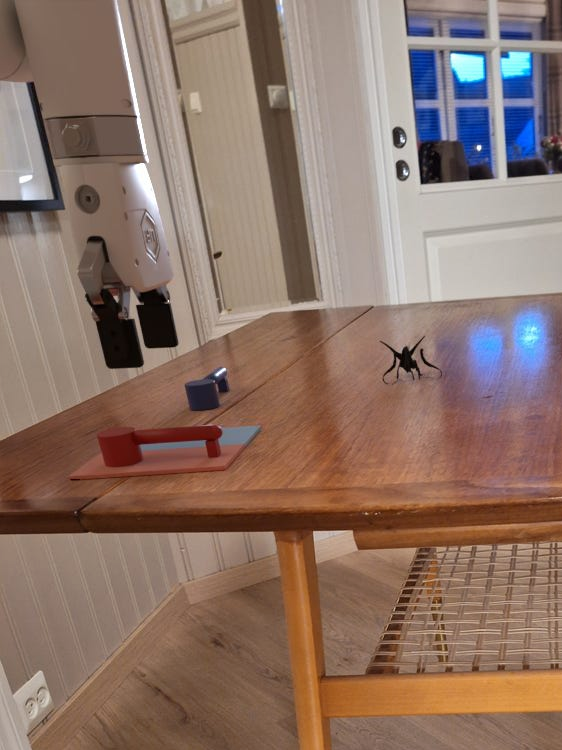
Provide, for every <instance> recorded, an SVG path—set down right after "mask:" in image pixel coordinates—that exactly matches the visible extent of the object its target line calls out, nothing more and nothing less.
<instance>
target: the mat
mask: <svg viewBox="0 0 562 750" xmlns="http://www.w3.org/2000/svg"><path fill="white" fill-rule="evenodd" d="M221 429H222V432H223V434H222V436H221V438H219V439H218V441H219V445H220V450H221V454H220V455H219V456H218V457H210V458H209V457H208V453H207V449H206V444H205V441H206V440H202V441H187V442H172V443H158V444H143V445H140V447H141V451H142V455H143V460H142V461H141V462H139V463H136V464H133V465H129V466H123V467H108V466H106V465H105V463H104V459H103V456H102V452H100V453H98V454H97V455H96V456H94V457H93V458H91V459H90V460H89V461H87V462H86V463H85V464H83V465H82V466H80V467H79V468H77V470H75V471H73V472H72V473H71V474H69V476H68V480H69V479H80V480H93V479H107V478H109V479H110V478H124V477H125V478H126V477H139V476H154V475H155V476H156V475H167V474H182V473H198V472H200V473H201V472H213V471H214V472H215V471H226V470H227V469H228V468H229V466H230V465H231V464H232V463H233V462H234V461H235V460H236V459H237V458H238V457H239V455H240V454H241V453H242V452H243V450H244V449H245V448H246V447H247V446H248V445H249V444H250V443H251V441H252V440H253V439H254V438H255V437H256V436H257V434H259V432H261V430H262V426H261V425H249V426H248V425H245V426H244V425H243V426H232V427H221Z"/></svg>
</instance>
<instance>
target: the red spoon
mask: <svg viewBox="0 0 562 750" xmlns="http://www.w3.org/2000/svg"><path fill="white" fill-rule="evenodd" d="M221 428H222V427H221V426H220V425H218V424H204V425H190V426H189V425H187V426H176V427H175V426H174V427H173V426H172V427H163V428H162V427H161V428H147V429H144V428H143V429H136V427H133V426H120V427H112V428H107V429H104V430H101V431H100V432H98V433H96V437H97V441H98V444H99V445H98V446H99V449H100V451H101V452H102V456H103V459H104V463H105V465H106V466H108V467H123V466H129V465H133V464H136V463H139V462H141V461H142V460H143V455H142V451H141V447H140V445H143V444H158V443H172V442H187V441H202V440H206V441H205V444H206V449H207V453H208V457H209V458H210V457H218V456H219V455H220V454H221V450H220V445H219V441H218V439H219V438H221V436H222V434H223V432H222V429H221ZM101 452H100V453H101Z"/></svg>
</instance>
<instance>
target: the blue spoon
mask: <svg viewBox="0 0 562 750" xmlns="http://www.w3.org/2000/svg"><path fill="white" fill-rule="evenodd" d="M227 375H228V370H227V369H226V368H225V367H223V366H219V367H217V368H216V369H214V370H213V371H212V372H210V373H209V374H208V375H206V376H205V377H203V378H201V379H196V380H190V381H187V382H185V383H184V389H185V393H186V397H187V403H188V406H189V410H190V411H195V412H196V411H197V412H199V411H200V412H201V411H208V410H212V409H216V408H218V407H220V405H221V403H220V399H219V394H218V393H225V392H227V393H228V392H229V391H230V386H229V381H228V377H227Z"/></svg>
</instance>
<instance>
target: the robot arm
mask: <svg viewBox="0 0 562 750" xmlns="http://www.w3.org/2000/svg"><path fill="white" fill-rule="evenodd" d="M126 45H127V44H126V39H125V35H124V29H123V25H122V20H121V14H120V9H119V4H118V0H0V81H2V82H10V83H34V89H35V92H36V96H37V100H38V103H39V108H40V112H41V116H42V121H43V125H44V129H45V134H46V137H47V141H48V145H49V151H50V154H51V158H52V162H53V167H55V168H60V169H61V178H62V186H63V191H64V199H65V204H66V209H67V214H68V220H69V224H70V230H71V235H72V240H73V245H74V249H75V253H76V257H77V261H78V266H77V269H76V273H77V277H78V279H79V281H80V284H81V286H82V287H83V290H84V293H85V294H84V298H85V299H86V300H85V301H86V302H87V304H88V306H90V308H91V309H90V310H91V311H90V314H91V318H92V320H93V321H94V323H95V326H96V330H97V334H98V339H99V342H100V346H101V351H102V355H103V359H104V362H105V366H106V367H107V368H108V369H110V370H117V369H119V370H120V369H139V368H141V367H143V366H144V365H145V360H144V356H143V350H142V346H141V342H140V338H139V335H138V329H137V324H136V320H135V318H130V306H131V292H132V291H133V294H134V295H135V297H136V299H137V300H138V303H139V304H136V305H135V308H136V313H137V317H138V318H137V319H138V322H139V326H140V331H141V336H142V341H143V344H144V347H145V348H146V349H151V350H152V349H170V348H171V349H172V348H173V349H174V348H176V347H178V345H179V339H178V333H177V328H176V323H175V318H174V312H173V308H172V303H171V294H170V290H169V289H168V287H167V285H168V284H169V283H170V282H171V281H172V280H173V278H174V269H173V263H172V259H171V253H170V251H169V246H168V241H167V237H166V233H165V229H164V226H163V222H162V217H161V213H160V210H159V206H158V202H157V198H156V194H155V191H154V187H153V185H152V182H151V179H150V176H149V172H148V170H147V166H146V165H145V164H149V163H150V160H149V156H148V150H147V146H146V141H145V135H144V131H143V126H142V120H141V115H140V111H139V106H138V101H137V97H136V96H137V95H136V90H135V86H134V79H133V74H132V71H131V65H130V59H129V56H128V50H127V46H126ZM131 290H132V291H131ZM115 297H117V300H116V298H115Z"/></svg>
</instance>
